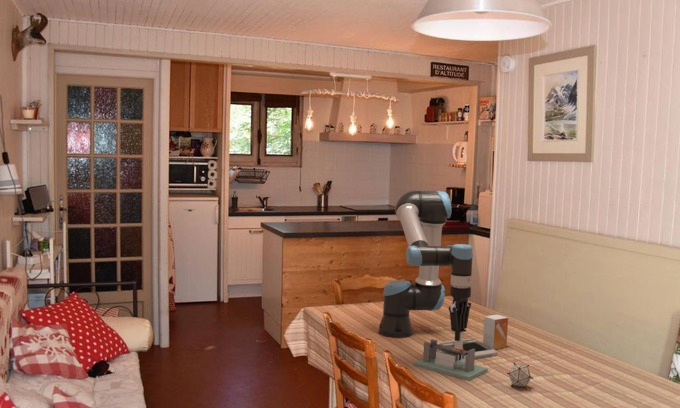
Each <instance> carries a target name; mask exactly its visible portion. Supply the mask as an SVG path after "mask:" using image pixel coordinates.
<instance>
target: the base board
mask: <svg viewBox="0 0 680 408" xmlns="http://www.w3.org/2000/svg"><path fill="white" fill-rule="evenodd" d="M431 343H434V344H438V339H437V340H436V339H433V338H432V339H430V342H428V341H424V342H423V356H422V357H423V358H421V359H418V360H415V361H413V363H412V365H413V366H414V367H419V368H423V369H426V370H429V371H432V372H437V373H440V374H444V375H448V376H452V377H454V378H459V379H463V380H466V381H471V380H473V379H475V378H477V377H479V376H481V375H483V374H485V373H487V372H488V371H489V368H488V367H484V366H481V365H477V364H475V360H476V359H475V349H471V350H469V351H468V355H467V356H466V357H465V365H464V366H462V367H460V368H458V369H455V370H450V369H446V368H442V367H439V366H435V358H436V351H438V349H434V348H430V347H431Z"/></svg>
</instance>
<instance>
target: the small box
mask: <svg viewBox="0 0 680 408" xmlns="http://www.w3.org/2000/svg"><path fill="white" fill-rule="evenodd" d="M483 319H484V320H483V335H482V336H483V337H482V343H483V344H485V345H486V346H488V347H490V348H491V349H494V350H495V351H496V350H500V349H506V348H507V346H508V345H507V343H508V341H507V340H508V327H509V326H508V325H509V317H507V316H504V315H500V314H492V315H491V314H490V315H486V316H484V317H483Z"/></svg>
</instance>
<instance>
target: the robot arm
mask: <svg viewBox="0 0 680 408" xmlns="http://www.w3.org/2000/svg"><path fill="white" fill-rule="evenodd" d="M394 209H395V210H394V212H395V216H396V218H397V220H398V221H399V222H400V225H401V227H402V230H403V233H404V236H405V240H406V242H407V245H408V246H407V248H406V251H405V259H406V263H407V265H409V266H415V267H419V269H418V276H417V277H416V278H415V280H414V283H411V281H409V280H406V279H405V280H402V279H399V280H398V279H397V280H392V281H389V282H387V283H385V285H384V286H383V287H384V288H383V304H382V305H383V311H382V317H381V321H380V323H379V326H378V334H379V335H381V336H385V337H390V338H399V339H400V338H408V337H411V336H412V335H413V331H414V329H413V327H412V326H413V325H412V322H411V319H410V311H429V312H431V311H439V310H441V309H442V307H443V304H444V302H445V296H446V292H445V291H446V289H445V286H444V285H443V284H442V281H441V280H440V278H439V273H440V270H439V269H440V267H450V268H451V269H450V292H449V293H450V294H449V295H450V297H452V298H453V299H452V304H451V306H448V312H449V319H450V329H451V331H452V332H454V341H455V342H454V348H455V349H459V350H461V349H463V339H464V332H467V328H468V323H469V317H470V316H469V315H470V311H471V306H472V302H469V298H471V297H472V296H471V295H472V288H471V286H472V281H473V280H472V275H473V273H472V271H473V256H474V253H473V246H471V245H470V244H467V243H466V244H465V243H464V244H463V243H455V244H453V245H451V244H449V245H445V246H444V245H443V246H442V245H441V242H442V233H443V232H442V231H443V226H444V225H445V224H446V223H447V219H450V218H451V215H452V202H451V199H450V195H449V194H448V193H447V192H446V191H439V190H411V191H407V192H406V193H403V194H402V195H401V197H399V198H398V200H397V202H396V203H395V207H394Z"/></svg>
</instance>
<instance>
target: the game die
mask: <svg viewBox="0 0 680 408" xmlns="http://www.w3.org/2000/svg"><path fill="white" fill-rule="evenodd" d="M529 367H530V364H527V366H526V365H521V364H520V365H519V364H516V362H513V367H512V368H511V370H510V371H509V372H506V374H507V375H508V376H509V379H510V381H511V385H510V387H512V388H513V386H516V387H520V388H521V387H523V388H524V389H525V390H527V386H528V384H529V382H530V380H531V379H532V380H533V379H534V377H532V376H531V372H530V370H529Z"/></svg>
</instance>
